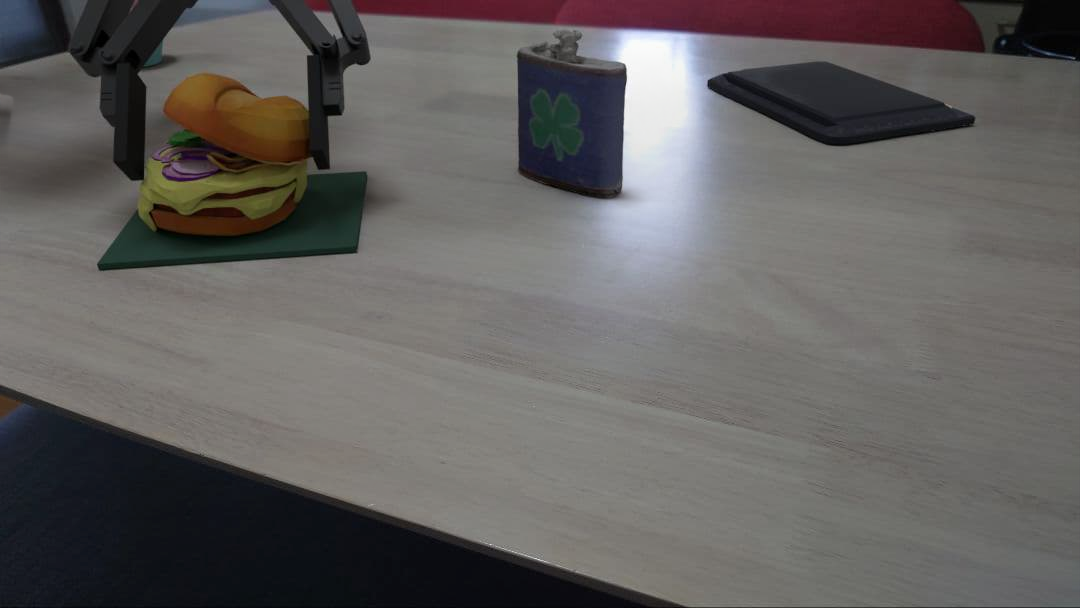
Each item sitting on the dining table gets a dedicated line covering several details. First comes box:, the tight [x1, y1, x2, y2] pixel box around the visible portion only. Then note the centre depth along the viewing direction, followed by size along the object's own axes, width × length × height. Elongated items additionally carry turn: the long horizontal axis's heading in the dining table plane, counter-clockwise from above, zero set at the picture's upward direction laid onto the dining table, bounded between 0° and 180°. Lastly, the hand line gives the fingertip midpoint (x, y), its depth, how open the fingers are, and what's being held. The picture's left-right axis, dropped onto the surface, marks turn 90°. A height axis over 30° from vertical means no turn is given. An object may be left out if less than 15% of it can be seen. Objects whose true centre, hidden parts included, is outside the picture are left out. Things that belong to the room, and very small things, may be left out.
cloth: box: [96, 170, 368, 270], centre depth 55 cm, size 15×13×1 cm
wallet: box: [706, 60, 976, 146], centre depth 75 cm, size 20×2×15 cm
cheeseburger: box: [137, 72, 313, 236], centre depth 52 cm, size 10×11×10 cm
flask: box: [516, 29, 628, 199], centre depth 57 cm, size 9×3×11 cm, turn 47°
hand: (225, 165), depth 50 cm, fingers closed on cheeseburger, 10 cm apart
